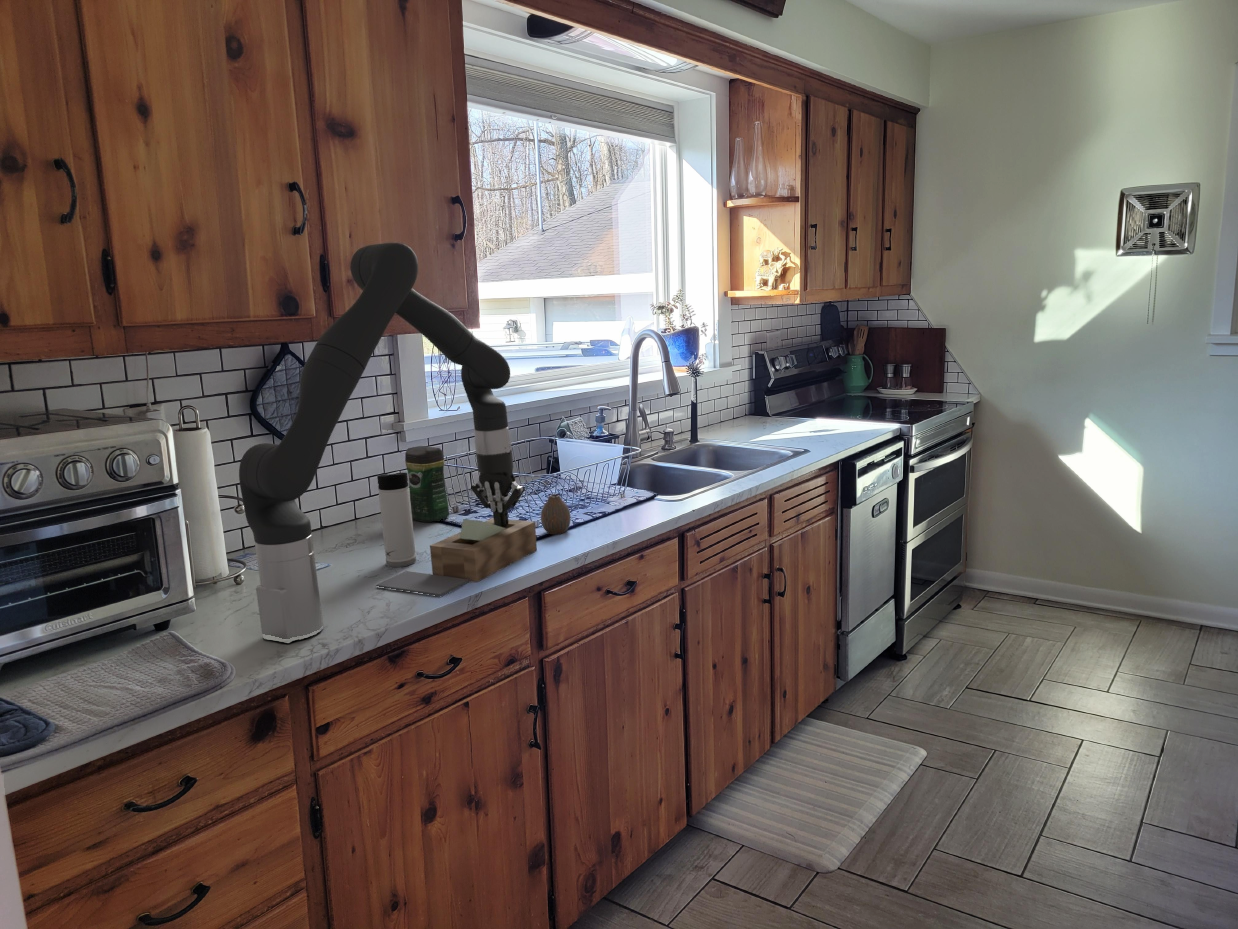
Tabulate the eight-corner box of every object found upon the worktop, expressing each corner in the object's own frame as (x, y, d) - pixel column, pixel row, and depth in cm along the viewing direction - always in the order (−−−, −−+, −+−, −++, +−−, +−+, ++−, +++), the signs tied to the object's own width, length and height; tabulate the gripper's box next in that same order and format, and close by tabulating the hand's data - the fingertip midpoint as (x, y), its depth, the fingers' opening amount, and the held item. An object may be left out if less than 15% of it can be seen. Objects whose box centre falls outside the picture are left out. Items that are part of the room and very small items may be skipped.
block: (477, 540, 186) (481, 520, 187) (459, 538, 188) (463, 519, 189) (509, 548, 197) (512, 530, 197) (492, 547, 199) (495, 528, 199)
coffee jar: (455, 517, 232) (448, 445, 229) (430, 524, 226) (423, 450, 223) (430, 512, 238) (423, 442, 235) (405, 519, 232) (398, 447, 229)
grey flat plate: (440, 597, 174) (440, 594, 174) (376, 587, 181) (375, 584, 181) (469, 582, 182) (469, 579, 181) (406, 573, 189) (406, 570, 189)
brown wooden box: (476, 582, 181) (474, 550, 180) (432, 576, 186) (429, 545, 185) (537, 550, 200) (534, 521, 199) (495, 545, 205) (493, 517, 204)
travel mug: (386, 569, 193) (376, 476, 188) (386, 560, 199) (376, 470, 195) (417, 565, 194) (408, 473, 190) (415, 556, 200) (406, 467, 196)
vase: (536, 535, 213) (533, 498, 211) (551, 527, 219) (549, 491, 217) (561, 537, 209) (559, 500, 208) (576, 529, 215) (574, 493, 214)
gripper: (457, 451, 193) (466, 530, 197) (509, 454, 187) (517, 535, 191) (478, 443, 200) (486, 520, 204) (529, 446, 194) (537, 524, 198)
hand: (501, 527), depth 198 cm, fingers closed
